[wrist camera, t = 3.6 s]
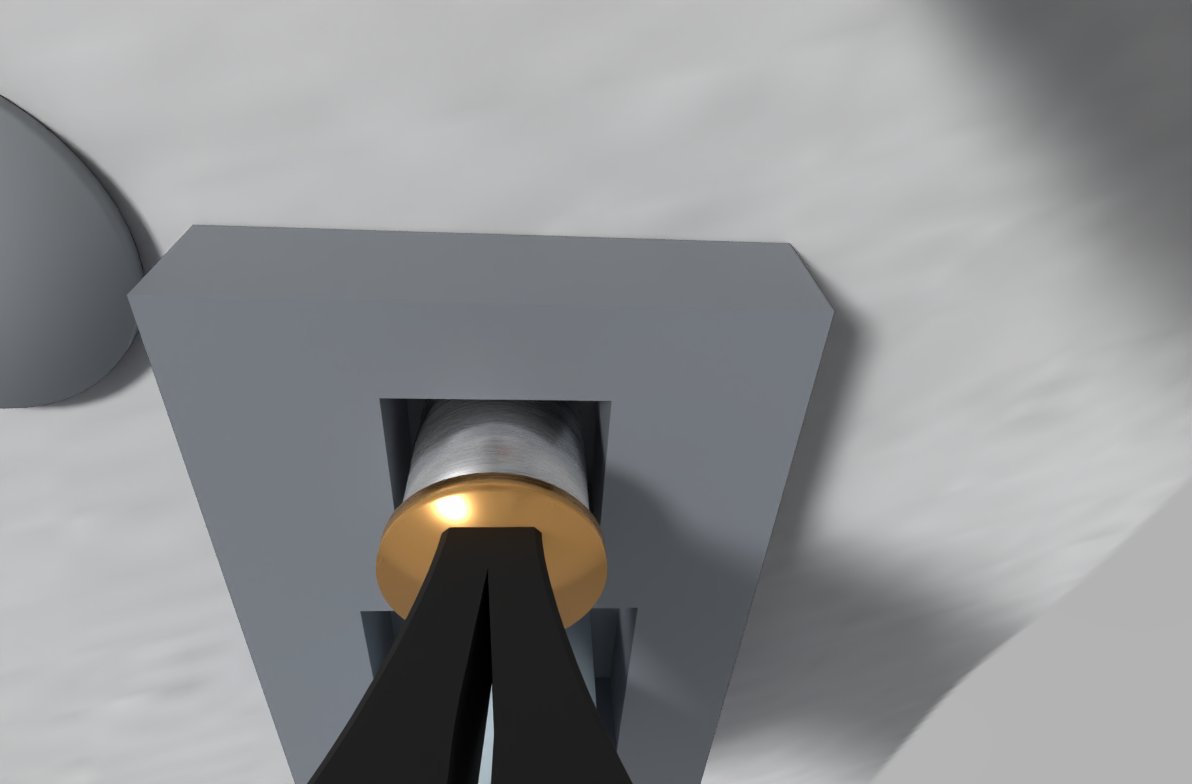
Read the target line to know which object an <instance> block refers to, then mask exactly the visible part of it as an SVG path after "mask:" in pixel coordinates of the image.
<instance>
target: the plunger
mask: <svg viewBox="0 0 1192 784" xmlns="http://www.w3.org/2000/svg"><path fill="white" fill-rule="evenodd" d="M449 527H535V528H536V529H538V530H539V531H540V532H541V533H542V542H543V549H544V555H545V561H546V566H547V570H548V574H549V579H550V583H551V586H552V590H553V593H554V597H555V600H556V604H557V607H558V610H559V613H560V616H561V619H562V623H563V625H564V628H565V629H566V628H568V627H569V626H571V625H573V624H574V623H575V622H577V621H578V620H580V619H581V618H582V617H583V616H584V615H585V614H587V613H588V612H589V611H590V609H591V608H592V607H593V606H594V605H595V604H596V602H597V600H598V599H599V597H600V596H601V594H602V591H603V589H604V586H605V583H606V578H607V559H606V549H605V542H604V536H603V533H602V530H601V528H600V525H599V524H598V522H597V520H596V519H595V517H594V515H593V514H592V513H591V512H590V511H589V500H588V488H587V475H586V462H585V450H584V437H583V425H582V416H581V410H580V407H579V405H578V402H577V401H573V400H488V399H426V400H425V403H424V406H423V409H422V413H421V418H420V423H419V428H418V432H417V437H416V442H415V447H414V452H413V456H412V461H411V466H410V471H409V475H408V480H407V485H406V490H405V495H404V499H403V503H402V504H401V505H400V506H398V508H397V509H396V510H395V511H394V513H393V514H392V515H391V516H390V518H389V520H388V522H387V523H386V525H385V528H384V531H383V534H382V537H381V541H380V545H379V550H378V554H377V560H376V578H377V582H378V586H379V589H380V591H381V593H382V595H383V597H384V598H385V600H386V601H387V603H388V604H389V606H390V607H391V608H392V609H393V610H394V611H395V612H396V613H397V614H398V615H399V616H401V617H402V618H403V619H404V620H406V618H407V616H408V614H409V612H410V610H411V608H412V606H413V604H414V601H415V599H416V597H417V595H418V593H419V591H420V588H421V586H422V584H423V582H424V580H425V577H426V575H427V573H428V570H429V568H430V565H431V563H432V560H433V557H434V555H435V552H436V549H437V547H438V544H439V540H440V537H441V534H442V532H444V531H445V530H446V529H448V528H449Z"/></svg>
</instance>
